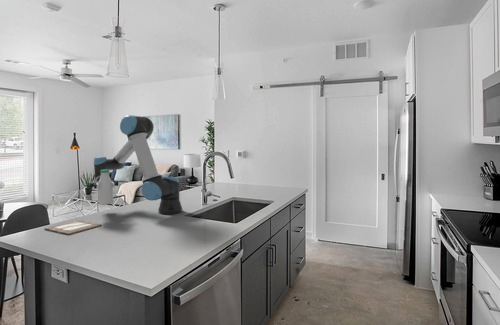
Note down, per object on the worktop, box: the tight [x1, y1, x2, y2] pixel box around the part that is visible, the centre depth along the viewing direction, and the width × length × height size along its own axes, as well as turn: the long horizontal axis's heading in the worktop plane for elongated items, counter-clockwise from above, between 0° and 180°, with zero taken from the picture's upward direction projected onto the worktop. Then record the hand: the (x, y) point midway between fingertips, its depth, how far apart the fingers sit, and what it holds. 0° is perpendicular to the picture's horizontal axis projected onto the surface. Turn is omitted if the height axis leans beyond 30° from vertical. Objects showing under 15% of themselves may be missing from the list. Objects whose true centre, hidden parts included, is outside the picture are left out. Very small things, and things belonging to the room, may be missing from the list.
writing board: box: [44, 219, 102, 236], centre depth 155 cm, size 20×18×1 cm
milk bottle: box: [97, 170, 114, 206], centre depth 171 cm, size 8×8×20 cm
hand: (105, 185), depth 166 cm, fingers closed on milk bottle, 7 cm apart
